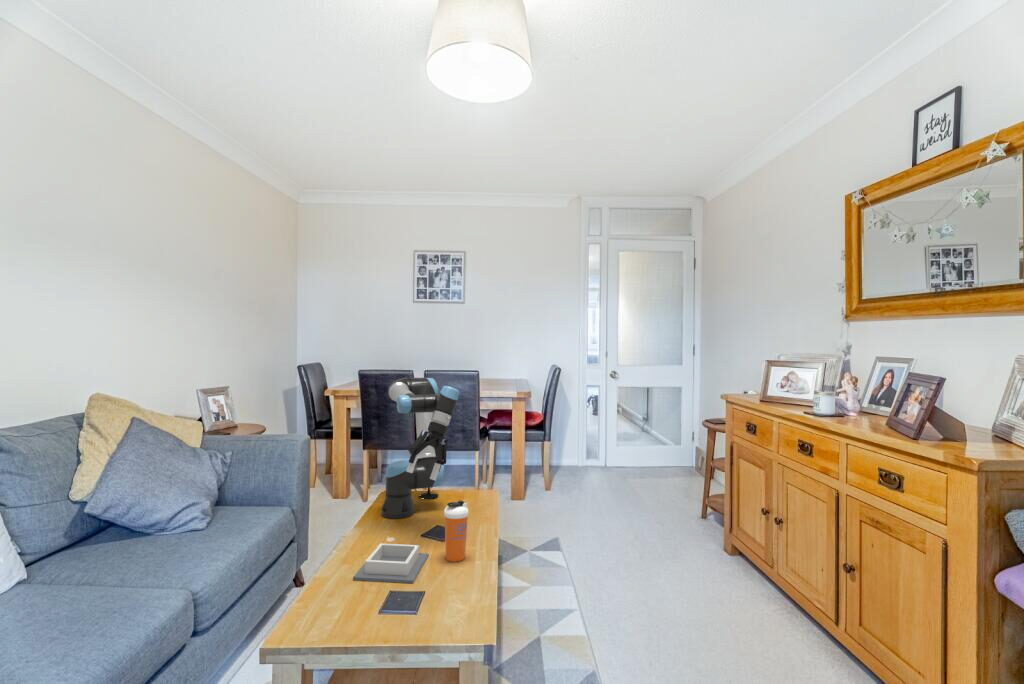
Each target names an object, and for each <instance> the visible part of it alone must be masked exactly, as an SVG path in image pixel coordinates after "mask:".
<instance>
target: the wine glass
mask: <svg viewBox="0 0 1024 684" xmlns="http://www.w3.org/2000/svg"><path fill="white" fill-rule="evenodd" d="M430 489H431V487H429V488H427V492H426V493H425V492H424V493H421V494H420V495H421V496H419V495H418V496H419V497H420V498H424V499H433V500H436V499H438V498H439V497H438V495H439V494H438V493H435V494H431V493H432V492H431V490H430ZM419 497H418V498H419ZM437 497H438V498H437ZM435 498H436V499H435Z"/></svg>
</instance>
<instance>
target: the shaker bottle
mask: <svg viewBox="0 0 1024 684" xmlns="http://www.w3.org/2000/svg"><path fill="white" fill-rule="evenodd" d="M446 505H447V506H446V507H445V508H444V512H443V517H444V539H445V540H444V541H445V546H444V547H445V559H446V560H447V562H453V563H454V562H455V563H456V562H457V561H458V562H462V561H463V560H465V558H466V548H467V547H466V546H467V532H468V517H469V514H470V513H469V508H468V503H467V502H465V501H463V500H461V499H458V500H457V501H451V502H447V503H446Z"/></svg>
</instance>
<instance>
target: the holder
mask: <svg viewBox="0 0 1024 684" xmlns="http://www.w3.org/2000/svg"><path fill="white" fill-rule="evenodd" d="M428 558H429V553H425V552H420V545H419V544H417V545H416V544H403V543H402V544H400V543H399V544H398V543H379V545H377V547H375V549H374V550H373V551H372V553H371V554H370V555H369V556H368V558H366V559H365V561H364V563H363V565H362V566H360V569H358V571H357V572H356V573H355V574H354V576H353V577H352V580H353V579H354V580H353V581H358V580H365V581H364V582H376V581H382V583H394V582H399V584H412V583H413V584H414V583H415V580H416V579H417V578H418V576H419V574H420V571H421V570H422V569H423V567H424V565H425V563H426V562H427V559H428ZM421 568H422V569H421ZM417 575H418V576H417ZM383 581H384V582H383Z"/></svg>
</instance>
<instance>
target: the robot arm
mask: <svg viewBox="0 0 1024 684" xmlns="http://www.w3.org/2000/svg"><path fill="white" fill-rule="evenodd" d="M387 391H388V392H387V394H388V396H389V398H390V399H391V400H392V401H394V402H396V409H397V413H399V414H415V427H416V439H415V441H414V442H413V443H412V444H411V445H410V447H408V450H407V451H408V452H409V455H410V456H409V459H406V460H405V459H401V460H398V461H397V460H396V461H393V462H391V463H390V464H388V465H387V466H386V469H385V471H386V472H385V496H384V500H383V503H382V506H381V510H380V514H381V517H384V518H385V519H393V520H394V519H395V520H397V519H399V520H400V519H405V518H409V517H411V516H413V515H414V514H415V512H416V511H415V510H416V509H415V508H416V507H415V504H414V503H415V502H414V500H413V497H412V490H417V489H428V488H429V487H430V489H431V488H436V487H439V486H441V484H443V481H444V476H445V465H446V464H447V457H448V455H447V451H448V450H447V449H448V448H447V446H448V439H444V436H446V434H447V431H448V429H449V428H448V426H449V425H450V422H451V420H452V416H453V413H454V411H455V407H456V405H457V402H458V400H459V396H460V390H458V388H455V387H453V386H449V385H443V386H442V388H441V390H440V392H439V388H438V384H437V382H436V380H435V379H434V378H433V377H401V378H399V379H395V380H394V381H393V382H392V383H390V385H389V387H388V389H387Z"/></svg>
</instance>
